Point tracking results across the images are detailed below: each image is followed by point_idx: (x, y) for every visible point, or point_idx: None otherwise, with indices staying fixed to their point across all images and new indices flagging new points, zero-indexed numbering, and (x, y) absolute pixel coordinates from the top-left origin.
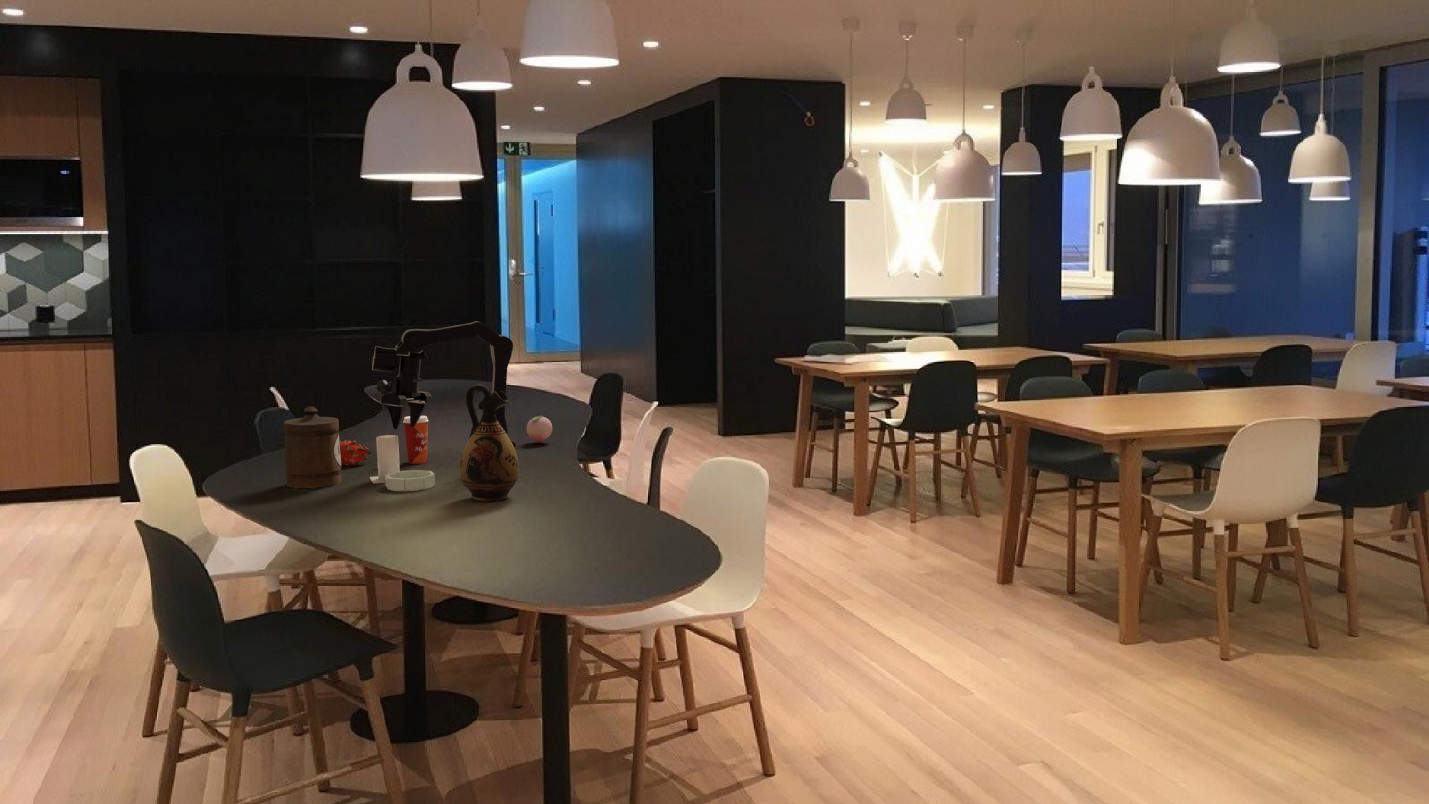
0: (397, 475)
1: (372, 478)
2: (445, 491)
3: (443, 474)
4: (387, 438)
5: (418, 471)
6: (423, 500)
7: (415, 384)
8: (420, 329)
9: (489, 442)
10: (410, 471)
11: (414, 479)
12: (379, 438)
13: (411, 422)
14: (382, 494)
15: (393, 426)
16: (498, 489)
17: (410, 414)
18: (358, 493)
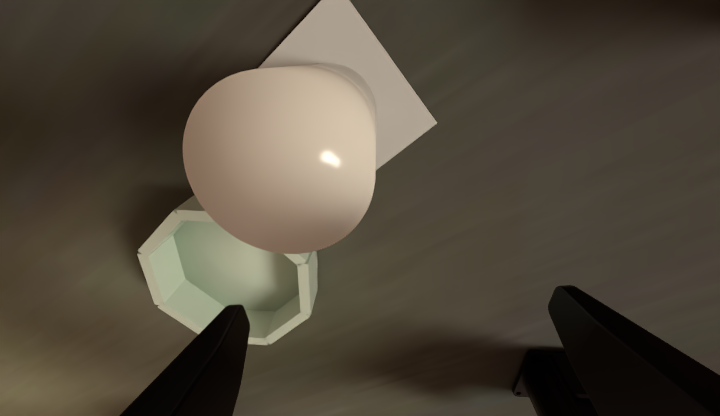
0: None
1: (310, 28)
2: (247, 352)
3: (474, 249)
4: (218, 218)
5: (298, 277)
6: (140, 351)
7: None
8: None
9: None
10: (285, 254)
11: (185, 322)
12: (184, 154)
13: (584, 325)
14: (125, 232)
15: (213, 325)
16: None
17: (692, 409)
18: (85, 149)
